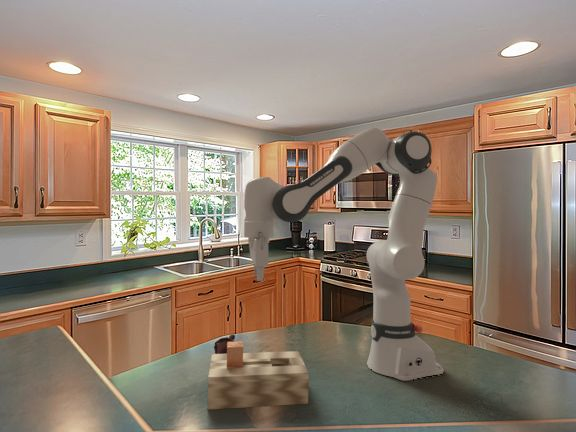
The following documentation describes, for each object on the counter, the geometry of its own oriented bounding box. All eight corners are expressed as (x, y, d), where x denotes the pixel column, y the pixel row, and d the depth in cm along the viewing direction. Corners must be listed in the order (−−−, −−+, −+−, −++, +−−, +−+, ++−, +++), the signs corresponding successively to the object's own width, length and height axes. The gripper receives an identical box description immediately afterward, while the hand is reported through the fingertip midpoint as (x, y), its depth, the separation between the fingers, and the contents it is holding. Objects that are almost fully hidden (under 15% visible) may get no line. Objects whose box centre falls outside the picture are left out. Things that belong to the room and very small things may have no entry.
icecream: (232, 347, 102) (245, 335, 117) (209, 339, 104) (225, 328, 118) (225, 370, 102) (239, 355, 117) (202, 362, 103) (219, 348, 118)
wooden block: (241, 375, 91) (242, 341, 91) (242, 382, 87) (243, 346, 87) (226, 376, 90) (227, 341, 90) (226, 383, 86) (227, 347, 86)
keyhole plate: (297, 377, 98) (298, 351, 98) (308, 403, 84) (308, 372, 84) (211, 381, 94) (212, 354, 94) (207, 409, 80) (208, 377, 80)
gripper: (273, 232, 94) (273, 283, 93) (265, 230, 114) (265, 272, 114) (250, 232, 92) (250, 284, 92) (246, 230, 113) (246, 273, 112)
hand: (258, 277), depth 103 cm, fingers open, 8 cm apart
